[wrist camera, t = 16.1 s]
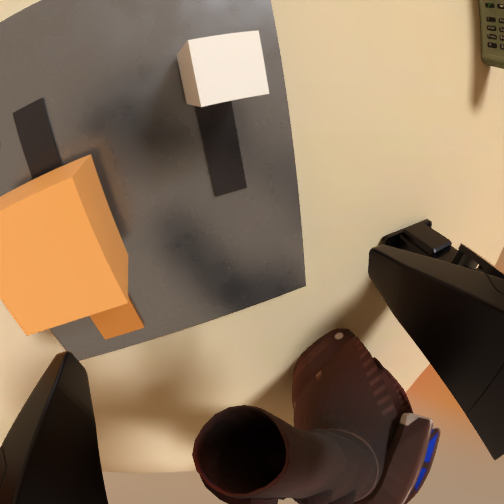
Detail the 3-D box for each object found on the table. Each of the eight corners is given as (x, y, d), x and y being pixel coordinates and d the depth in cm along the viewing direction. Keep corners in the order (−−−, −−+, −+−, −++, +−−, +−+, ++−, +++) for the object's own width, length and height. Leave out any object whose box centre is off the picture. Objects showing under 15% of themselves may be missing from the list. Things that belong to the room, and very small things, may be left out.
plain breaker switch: (238, 92, 13) (269, 93, 10) (186, 103, 13) (201, 107, 10) (229, 44, 12) (258, 30, 9) (176, 54, 12) (187, 40, 8)
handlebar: (400, 378, 45) (463, 458, 29) (344, 423, 46) (398, 506, 30) (245, 203, 19) (496, 513, 3) (119, 325, 20) (173, 614, 4)
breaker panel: (294, 271, 23) (307, 288, 22) (77, 342, 20) (75, 364, 18) (248, -35, 11) (262, -49, 9) (-40, 63, 8) (-59, 62, 6)
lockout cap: (128, 255, 15) (128, 302, 12) (42, 286, 14) (26, 335, 11) (90, 154, 12) (72, 176, 9) (-2, 197, 11) (-37, 232, 7)
